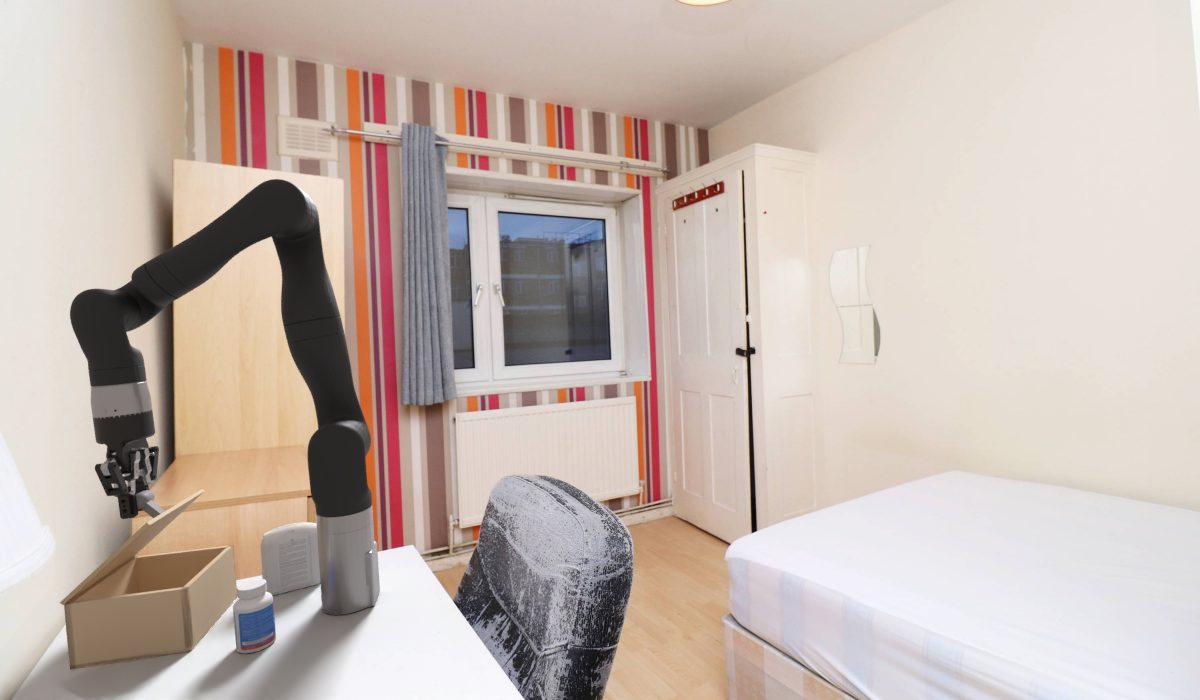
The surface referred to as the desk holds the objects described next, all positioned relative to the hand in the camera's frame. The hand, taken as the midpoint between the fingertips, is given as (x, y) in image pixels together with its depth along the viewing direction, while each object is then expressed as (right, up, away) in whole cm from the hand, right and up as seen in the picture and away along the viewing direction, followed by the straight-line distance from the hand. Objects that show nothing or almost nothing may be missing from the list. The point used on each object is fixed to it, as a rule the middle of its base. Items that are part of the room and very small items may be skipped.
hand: (136, 513), depth 93 cm
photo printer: (+18, -19, +15) cm, 30 cm away
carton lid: (+1, -5, 0) cm, 5 cm away
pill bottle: (+23, -20, -4) cm, 30 cm away
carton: (+3, -20, +2) cm, 20 cm away
